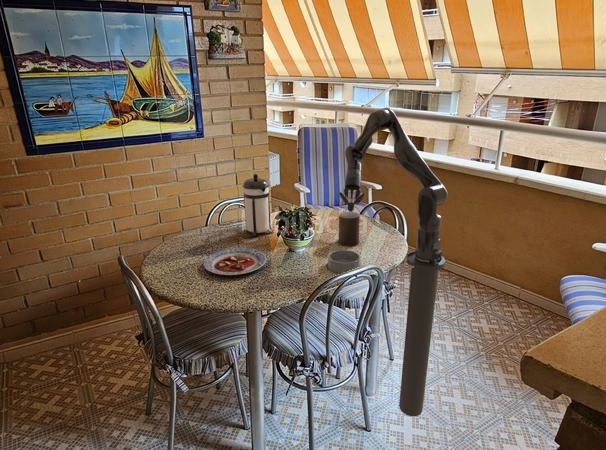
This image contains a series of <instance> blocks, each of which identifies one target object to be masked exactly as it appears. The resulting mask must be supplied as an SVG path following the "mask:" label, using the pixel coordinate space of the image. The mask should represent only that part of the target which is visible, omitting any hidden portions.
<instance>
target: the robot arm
mask: <svg viewBox="0 0 606 450" xmlns="http://www.w3.org/2000/svg"><path fill="white" fill-rule="evenodd" d="M384 130H388V131H389V132H390V134H391V135H392V138H393V155H394V158H395V160H396V161H397V162H398V164H399V165H400V167H401V168H402V169H403V170H404V171H405V172H406V173H408V174H409V175H411V176H412V177H413V178H415V179H416V180H417V181H418V182H419V183H420V184H421V185H422V188H421V189H420V190H419V192H418V195H417V209H416V210H417V211H416V212H417V214H416V215H417V217H418V221H417V222H418V223H417V232H416V233H417V234H416V243H415V244H416V245H415V250H414V252H416V253H415V259H416V260H418V261H420V262H424V263H431V264H432V263H434V262H436V261H437V260H438V261H437V263H439V262H440V261H441V260H442V257H443V250H441V243H442V239H440V235H441V227H442V216H441V215H440V214H438V213H437V210H438V209H437V208H438V207H439V206H442V205H445V204H446V203H447V201H448V199H449V194H448V190H447V189H446V187H445V186H444V184H443V183H442V182H441V181H440V180H439V178H438V177H437V176H436V175H435V174H434V173H433V171H432V170H431V169H430V167H429V166H428V164H427V163H426V161H425V160H424V159H423V157H422V155H421V154H420V152H419V151H418V149H417V148H416V146H415V144H413V142H412V141H411V140H410V137H409V136H408V135H407V133H406V132H405V129H404V128H403V126H402V124H401V122H400V120H399V118H398V117H397V115H396V113H395V112H394V111H393V109H392V108H390V107H382V108H380V109H376V110H373V111H372V112H370V113H369V115H368V117H367V119H366V122H365V124H364V126H363V129H362V131H361V132H360V135H359V136H358V138H357V139H356V140H355V141H354V144H349V145H347V147H346V148H345V152H344V154H345V159H346V160H345V161H346V165H347V168H346V175H345V184H344V189H343V191H341V192H339V193H338V195H339V197H340V199H341V200H342V202H343V203H344V204H346V205H347V211H348V212H354V210H355V205H358V204H359V203H360V202H361V201H363V199H364V198H365V196H366V195H365V193H362V190H361V183H362V161H364V160H365V158H366V154H367V152H368V149H369V148H370V146H372V144H373V142H374V135H375V134H376V133H377V132H382V131H384ZM441 256H442V257H441ZM439 258H440V259H439Z"/></svg>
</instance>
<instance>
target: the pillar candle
mask: <svg viewBox="0 0 606 450" xmlns="http://www.w3.org/2000/svg"><path fill="white" fill-rule="evenodd" d="M360 217H361V215H360V214H359V213H358V212H354V211H352V212H349V211H344V212H339V214H338V243H339V244H340V245H342V246H345V247H355V246H357V245H359V243H360V221H361V220H360V219H361V218H360Z"/></svg>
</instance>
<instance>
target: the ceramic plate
mask: <svg viewBox="0 0 606 450" xmlns="http://www.w3.org/2000/svg"><path fill="white" fill-rule="evenodd" d="M266 262H267V256H266V255H265V254H264V253H263V252H261V251H259V250H256V249H253V248H245V247H244V248H242V247H241V248H240V247H238V248H235V247H234V248H228V249H227V248H226V249H223V250H219V251H217V252H214V253H212V254H210V255H209V256H207V257H206V258H205V259H204V261H203V267H204V269H206V270H207V271H208V272H210V273H212V274H215V275H221V276H238V275H244V274H249V273H251V272H255V271H257V270H259V269H260V268H262V267H263V266H264V265H265V264H266Z"/></svg>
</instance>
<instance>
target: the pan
mask: <svg viewBox="0 0 606 450" xmlns="http://www.w3.org/2000/svg"><path fill="white" fill-rule="evenodd" d="M361 261H362V260H361V255H360V254H359V253H358V252H356V251H353V250H349V249H338V250H333V251H330V252H329V253H328V254H327V267H328V269H329V270H330V271H331V272H334V273H337V274H344V273H343V272H347V271H349V270H352V269H355V268H357V267H360V268H361Z"/></svg>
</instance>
